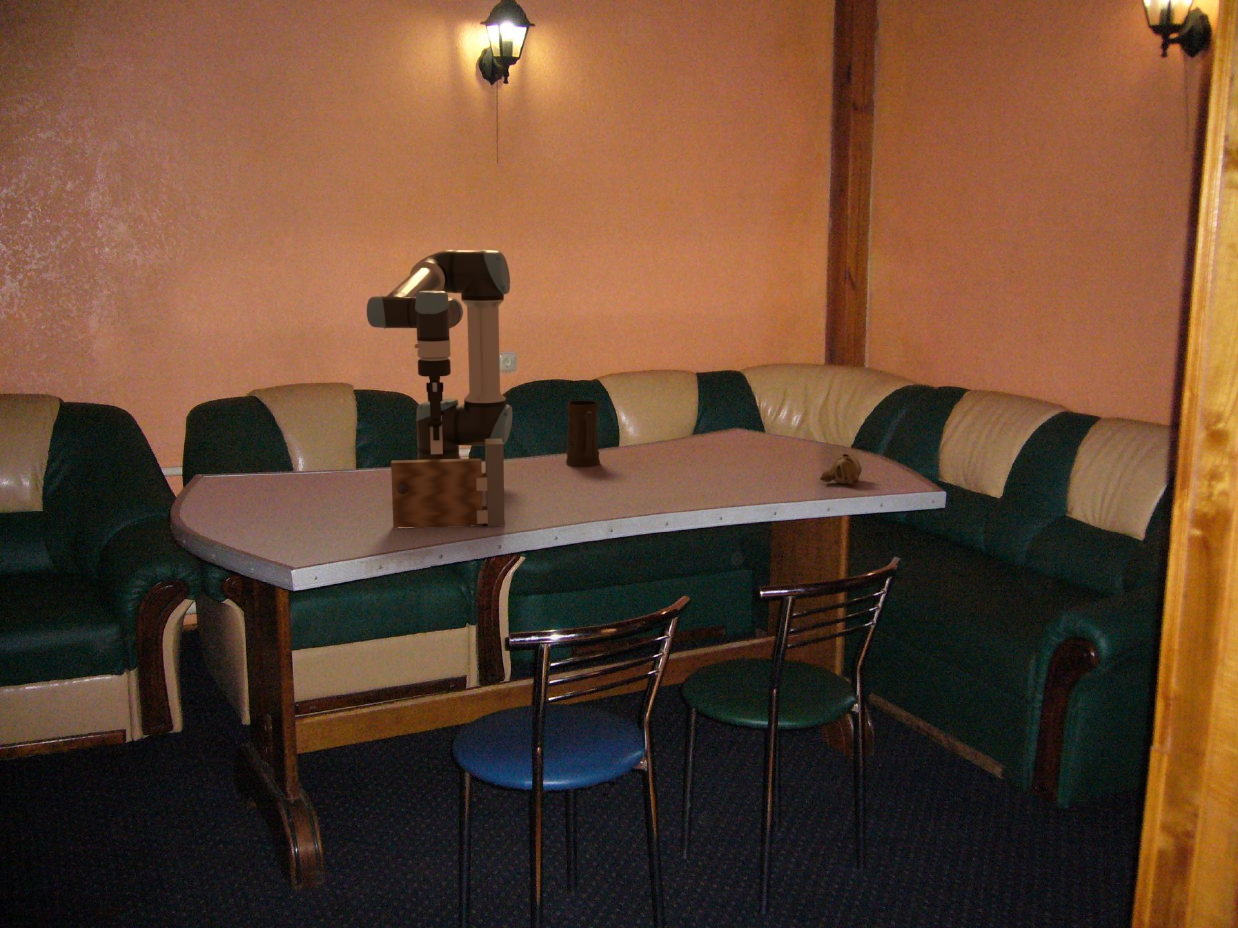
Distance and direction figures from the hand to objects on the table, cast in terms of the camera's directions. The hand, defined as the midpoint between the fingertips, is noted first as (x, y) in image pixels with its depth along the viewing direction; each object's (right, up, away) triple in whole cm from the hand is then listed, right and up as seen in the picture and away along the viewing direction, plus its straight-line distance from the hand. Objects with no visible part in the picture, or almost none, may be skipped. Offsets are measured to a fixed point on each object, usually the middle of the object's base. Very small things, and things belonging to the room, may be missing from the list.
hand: (436, 448), depth 253 cm
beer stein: (+33, -4, +76) cm, 83 cm away
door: (0, -19, +3) cm, 19 cm away
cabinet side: (+12, -18, +6) cm, 23 cm away
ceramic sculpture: (+108, -9, +54) cm, 121 cm away
